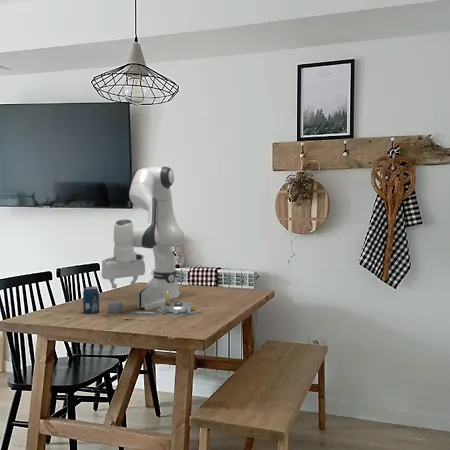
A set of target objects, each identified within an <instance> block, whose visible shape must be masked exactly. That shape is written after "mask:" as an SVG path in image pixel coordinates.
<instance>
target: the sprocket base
mask: <svg viewBox="0 0 450 450" xmlns="http://www.w3.org/2000/svg"><path fill="white" fill-rule="evenodd" d="M155 312H158V314H162V315H167V316H169V317H172V318H177V317H182V316H183V317H184V316H190V315H197V314H202V310H200V309H197V308H196V310H192V311H191V313H178V314H174V313H168V312H167V313H164V312H163V310H161V308H157V309H155Z"/></svg>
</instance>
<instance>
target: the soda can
mask: <svg viewBox="0 0 450 450" xmlns="http://www.w3.org/2000/svg"><path fill="white" fill-rule="evenodd" d="M82 304H83V306H82V307H83V308H82V309H83V310H82V312H83V313H84V314H85V315H86V314H87V315H95V314H98V313H99V312H100V291H99V288H98V287H97V286H86V287H84V288H83V290H82Z"/></svg>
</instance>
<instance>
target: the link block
mask: <svg viewBox="0 0 450 450" xmlns="http://www.w3.org/2000/svg"><path fill="white" fill-rule="evenodd" d="M107 304H108V306H107V307H108V308H107V311H108V312H107V313H108V314H120V313H122V312H123V308H124V307H123V301H121V300H111V301H109V302H108V303H107Z"/></svg>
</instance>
